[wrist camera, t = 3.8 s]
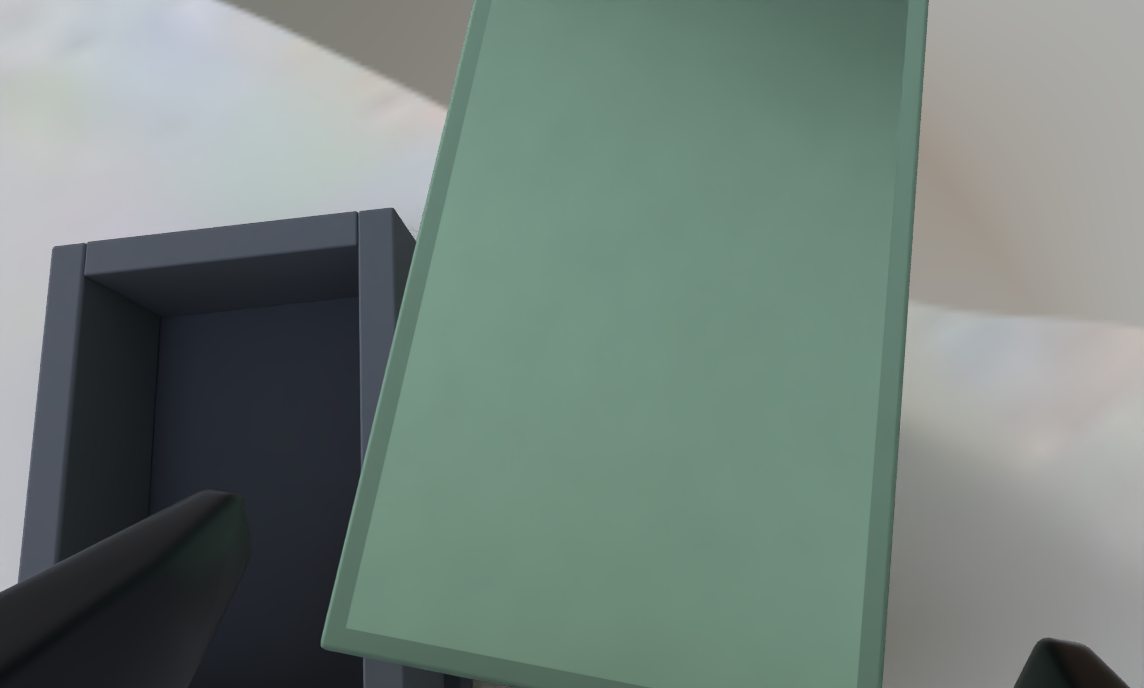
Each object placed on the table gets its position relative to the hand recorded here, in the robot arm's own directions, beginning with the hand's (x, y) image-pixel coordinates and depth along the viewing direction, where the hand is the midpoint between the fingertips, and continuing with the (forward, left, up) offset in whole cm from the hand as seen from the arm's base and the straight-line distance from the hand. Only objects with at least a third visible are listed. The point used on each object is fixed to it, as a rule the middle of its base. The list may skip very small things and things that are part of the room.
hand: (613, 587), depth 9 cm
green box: (+2, -2, -10) cm, 10 cm away
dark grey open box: (+7, +5, -10) cm, 13 cm away
